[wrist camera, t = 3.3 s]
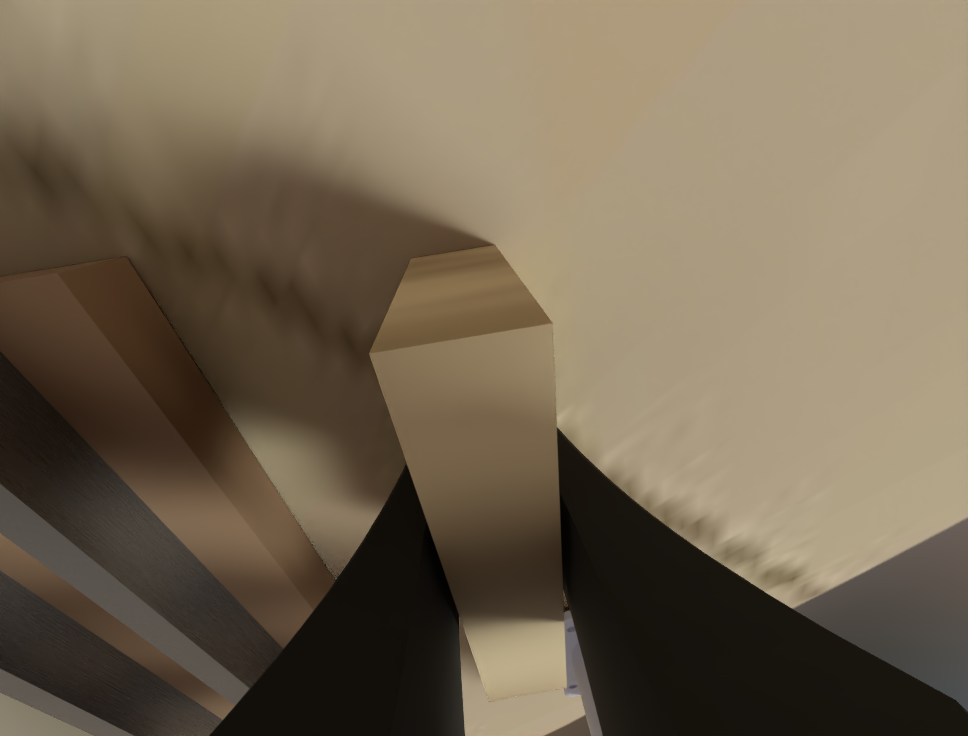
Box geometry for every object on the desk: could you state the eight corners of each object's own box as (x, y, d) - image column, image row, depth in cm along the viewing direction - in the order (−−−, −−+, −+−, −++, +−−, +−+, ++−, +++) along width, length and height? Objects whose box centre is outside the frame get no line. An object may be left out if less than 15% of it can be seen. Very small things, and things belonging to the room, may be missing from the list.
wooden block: (526, 516, 13) (566, 687, 9) (474, 525, 13) (489, 701, 9) (495, 244, 8) (552, 322, 4) (411, 258, 8) (369, 353, 4)
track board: (385, 658, 17) (374, 744, 15) (188, 694, 17) (141, 787, 14) (126, 256, 7) (-51, 299, 5) (-348, 332, 7) (-802, 419, 5)
